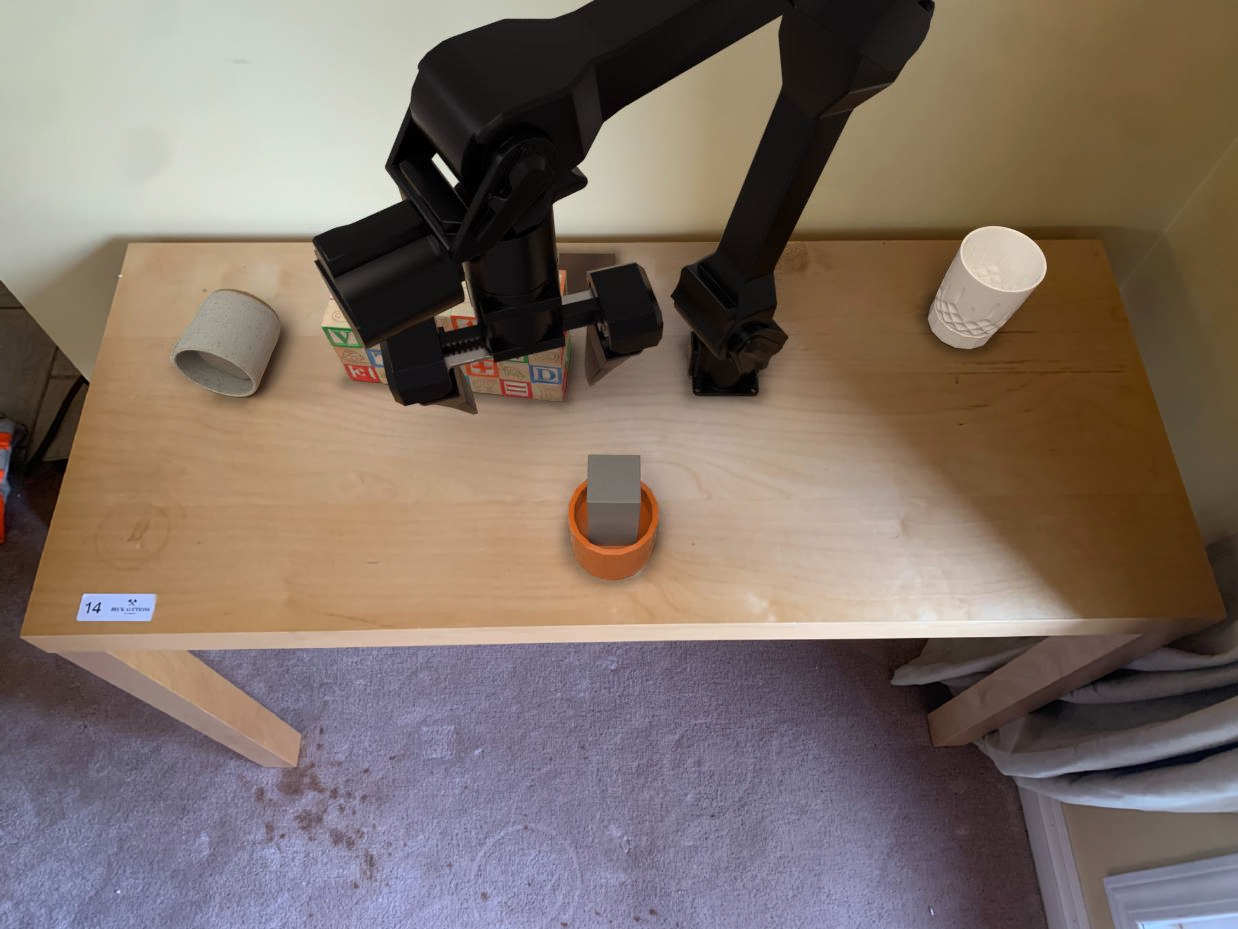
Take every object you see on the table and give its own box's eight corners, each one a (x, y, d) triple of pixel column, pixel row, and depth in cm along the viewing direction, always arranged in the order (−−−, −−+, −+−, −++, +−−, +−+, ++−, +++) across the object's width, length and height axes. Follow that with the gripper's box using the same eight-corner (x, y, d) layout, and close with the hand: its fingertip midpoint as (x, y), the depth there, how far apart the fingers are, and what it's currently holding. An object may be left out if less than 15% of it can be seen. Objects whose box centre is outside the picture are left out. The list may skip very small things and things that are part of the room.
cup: (653, 503, 72) (657, 472, 66) (654, 580, 68) (659, 555, 63) (572, 502, 72) (569, 471, 66) (570, 579, 68) (566, 554, 62)
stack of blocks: (349, 382, 77) (306, 304, 66) (365, 331, 80) (326, 247, 69) (565, 402, 76) (558, 326, 65) (572, 349, 79) (567, 268, 68)
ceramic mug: (296, 333, 79) (265, 284, 73) (269, 401, 76) (234, 356, 69) (196, 322, 80) (156, 272, 73) (165, 390, 76) (120, 343, 70)
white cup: (1008, 314, 82) (1058, 248, 73) (982, 367, 79) (1030, 305, 70) (938, 281, 84) (978, 213, 75) (909, 332, 81) (947, 267, 72)
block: (636, 502, 67) (640, 454, 59) (636, 545, 66) (640, 502, 57) (590, 501, 67) (587, 454, 59) (589, 545, 65) (586, 502, 57)
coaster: (614, 255, 85) (614, 253, 84) (614, 300, 82) (614, 297, 82) (559, 255, 85) (559, 252, 84) (557, 299, 82) (557, 297, 82)
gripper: (620, 137, 52) (618, 289, 65) (335, 194, 49) (396, 340, 63) (673, 264, 47) (658, 399, 61) (361, 334, 44) (420, 458, 58)
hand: (532, 394), depth 61 cm, fingers open, 9 cm apart
